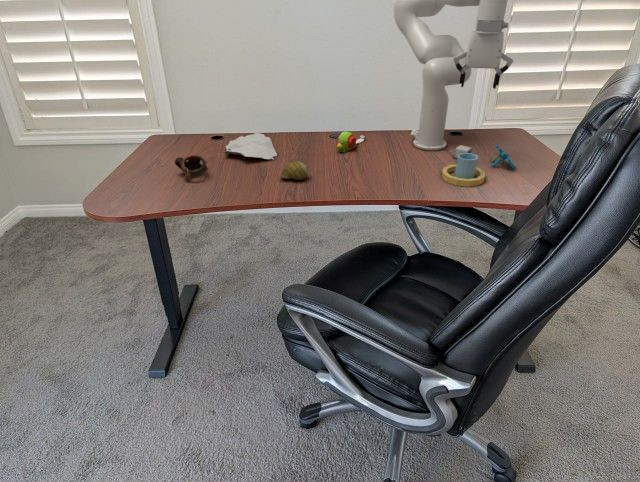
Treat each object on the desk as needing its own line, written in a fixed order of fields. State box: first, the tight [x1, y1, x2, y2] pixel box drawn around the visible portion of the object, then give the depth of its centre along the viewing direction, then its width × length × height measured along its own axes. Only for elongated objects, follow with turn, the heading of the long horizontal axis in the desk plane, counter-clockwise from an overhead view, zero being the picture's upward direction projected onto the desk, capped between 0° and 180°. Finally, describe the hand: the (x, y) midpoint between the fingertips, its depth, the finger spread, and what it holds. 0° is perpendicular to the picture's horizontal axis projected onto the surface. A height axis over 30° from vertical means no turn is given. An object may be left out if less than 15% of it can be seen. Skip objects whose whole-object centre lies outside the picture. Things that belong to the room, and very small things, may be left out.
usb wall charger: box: [449, 144, 473, 159], centre depth 154 cm, size 4×7×4 cm, turn 47°
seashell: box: [280, 160, 309, 181], centre depth 140 cm, size 10×7×8 cm
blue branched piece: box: [491, 144, 516, 169], centre depth 146 cm, size 11×6×10 cm
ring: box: [441, 164, 486, 188], centre depth 139 cm, size 13×13×2 cm
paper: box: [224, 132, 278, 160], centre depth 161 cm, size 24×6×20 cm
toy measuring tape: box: [336, 130, 367, 153], centre depth 165 cm, size 6×20×7 cm, turn 145°
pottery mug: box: [174, 154, 209, 182], centre depth 143 cm, size 12×10×8 cm
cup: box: [453, 153, 479, 179], centre depth 138 cm, size 6×6×8 cm
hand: (478, 86), depth 135 cm, fingers open, 9 cm apart
